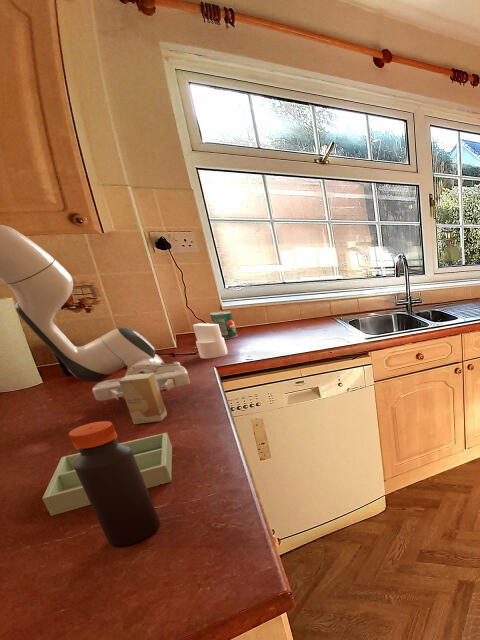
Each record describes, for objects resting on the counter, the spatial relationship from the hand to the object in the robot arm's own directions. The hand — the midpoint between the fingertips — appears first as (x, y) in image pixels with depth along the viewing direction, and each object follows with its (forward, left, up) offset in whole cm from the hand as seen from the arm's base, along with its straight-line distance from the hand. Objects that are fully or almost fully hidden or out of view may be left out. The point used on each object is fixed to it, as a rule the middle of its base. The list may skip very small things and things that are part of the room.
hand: (142, 392), depth 111 cm
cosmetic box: (+2, -2, -7) cm, 8 cm away
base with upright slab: (-24, +52, -7) cm, 58 cm away
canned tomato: (-38, +77, -7) cm, 87 cm away
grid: (+19, -27, -7) cm, 33 cm away
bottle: (+38, -42, -7) cm, 57 cm away
